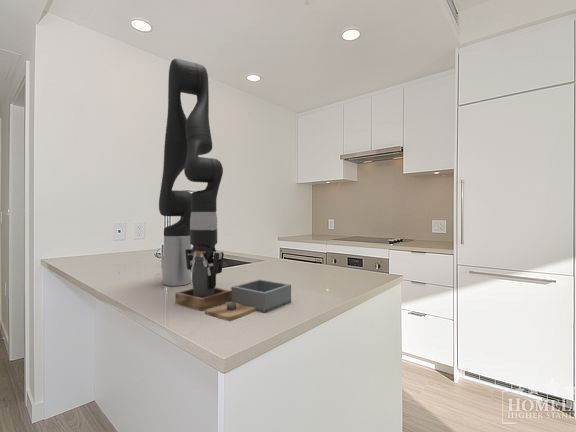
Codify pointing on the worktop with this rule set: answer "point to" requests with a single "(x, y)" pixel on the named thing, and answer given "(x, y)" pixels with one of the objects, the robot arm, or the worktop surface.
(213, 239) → the robot arm
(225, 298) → the tray
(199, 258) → the bottle
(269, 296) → the bin
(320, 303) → the worktop surface
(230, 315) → the corral lid
